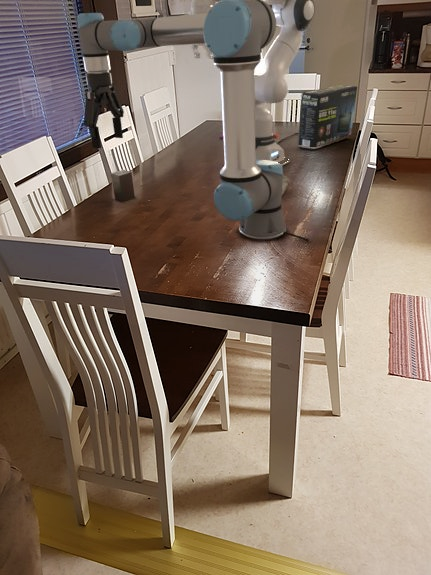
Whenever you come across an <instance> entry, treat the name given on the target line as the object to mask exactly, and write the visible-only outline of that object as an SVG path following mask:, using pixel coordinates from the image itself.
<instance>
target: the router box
mask: <svg viewBox="0 0 431 575" xmlns="http://www.w3.org/2000/svg"><path fill="white" fill-rule="evenodd" d="M357 93H358V86H356V85H350V84H339V85H338V84H337V85H334V86H328V87H324V88H318V89H314V90H309V91H304V92H301V93H300V109H299V110H300V111H299V124H298V131H299V133H298V137H297V146H298V145H302V146H307V147H317V146H320V145H323V144H325V143H328V142H331V141H333V140H336V139H338V138H341V137H344V136H347V135H351V136H352V133H353V132H352V131H353V125H354V115H355V109H356V99H357ZM311 151H313V150H312V149H311Z"/></svg>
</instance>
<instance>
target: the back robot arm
mask: <svg viewBox="0 0 431 575" xmlns="http://www.w3.org/2000/svg"><path fill="white" fill-rule="evenodd" d="M220 1H222V0H191V3H190V10H189V11H188V12H187V13H186V14H184V15H192V14H202V13H208V12H209V11H210V9H211V8H212V7H213V6H214V5H215V4H216V3H218V2H220ZM263 1H264V2H266V3H267V4H269V6H270V7H271V8H272V10H273V12H274V14H275V17H276V28H279V27H280V31H279V33H278V35H277V37H275V39H274V41H273V43H272V44H271V45H270V47H269V49H268V51H267V52H266V54H265V56H264V59H263V65H264V68H265V71H264V72H263V73H254V74H255V154H256V160H270V161H275V162H280V161H282V160H284V158H285V150H284V148H282V147H281V146H280V145H279V143H277V144H276V140H279V136H280V135H279V134H277V133H273V130H274V129H273V125H274V123H273V122H274V118H273V115H272V113H271V112H270V111H269V110H268V108H267V106H266V104H278V103H281V102H283V101H284V100H285V98H286V97H287V95H288V83H287V81H286V74H287V71H288V70H289V68H290V66H291V64H292V62H293V61H294V59H295V58H296V56H297V54H298V52H299V50H300V47H301V45H302V42H303V39H304V36H303V31H305V30H307V29H308V28H309V25H310V24H311V22H312V21H313V18H314V16H315V12H316V6H315V2H314V0H263ZM199 46H206V44H197V45H191V50H192V52H193V56H194V57H193V58H194V59H201V53H200V52H199ZM210 58H211V60H214V56H213V53H211V54H210ZM275 139H276V140H275ZM288 163H290V160H289V161H287V162H285V163H283V164H281V165H282V167H283V166H285V165H287V164H288Z"/></svg>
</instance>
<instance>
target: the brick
mask: <svg viewBox="0 0 431 575" xmlns="http://www.w3.org/2000/svg"><path fill="white" fill-rule="evenodd" d="M110 176H111V182H112V189H113V193H114V200H117V201H120V202H126V201H129V200H131V199H134V198H136V196H135V189H134V180H133V174H132V171H129V170H126V169H120V170H117V171H113V172H111V173H110Z"/></svg>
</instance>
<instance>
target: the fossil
mask: <svg viewBox="0 0 431 575" xmlns="http://www.w3.org/2000/svg"><path fill="white" fill-rule="evenodd" d="M290 185H291V180H290V178H289V176H286V175H283V184H282V195H284V194H285V192H286V190H287V189H288V186H290Z"/></svg>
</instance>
